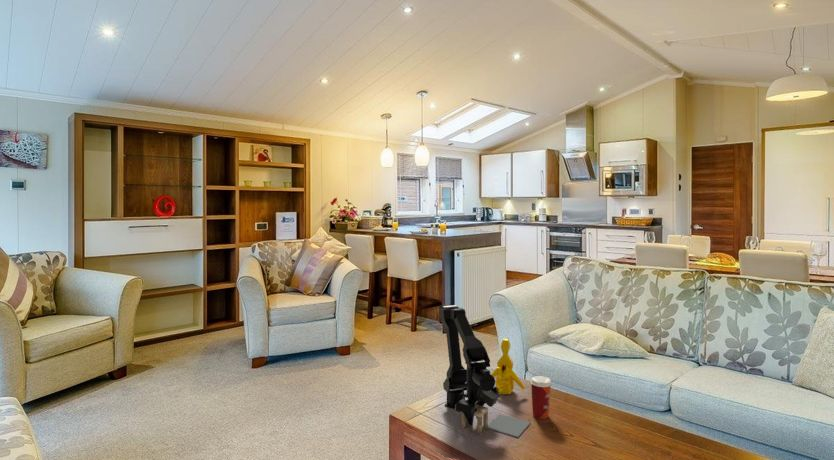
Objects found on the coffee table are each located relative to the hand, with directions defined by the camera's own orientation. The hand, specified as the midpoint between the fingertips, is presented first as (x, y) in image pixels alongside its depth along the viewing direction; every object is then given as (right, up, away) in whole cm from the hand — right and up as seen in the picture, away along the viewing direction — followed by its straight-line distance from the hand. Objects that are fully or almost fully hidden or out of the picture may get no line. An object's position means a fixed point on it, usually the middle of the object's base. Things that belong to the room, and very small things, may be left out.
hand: (474, 422), depth 164 cm
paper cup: (+26, -1, +8) cm, 27 cm away
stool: (0, -2, 0) cm, 2 cm away
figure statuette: (+16, 0, +29) cm, 34 cm away
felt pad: (+12, -1, 0) cm, 12 cm away
